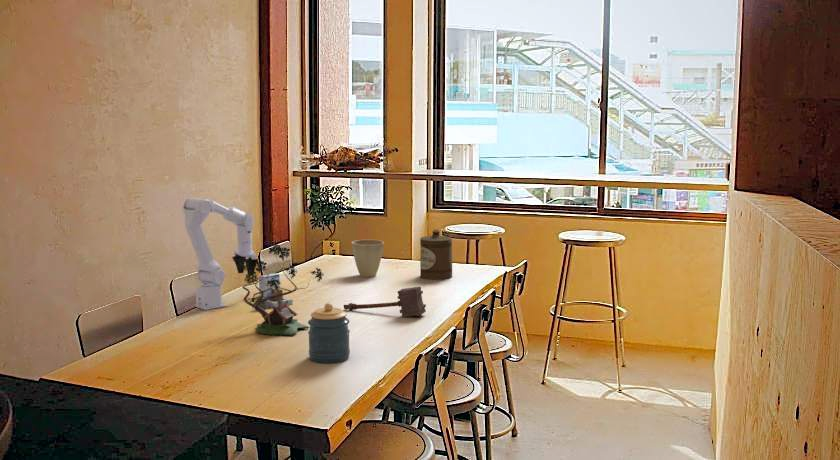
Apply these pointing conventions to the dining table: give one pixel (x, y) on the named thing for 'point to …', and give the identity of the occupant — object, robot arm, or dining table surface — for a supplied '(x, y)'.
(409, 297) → the hammer
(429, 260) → the wooden container
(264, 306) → the rubber stub
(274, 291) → the block
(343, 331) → the canister
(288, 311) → the bonsai tree
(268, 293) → the medicine box
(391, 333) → the dining table surface
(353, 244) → the plant pot
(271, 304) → the bore block
